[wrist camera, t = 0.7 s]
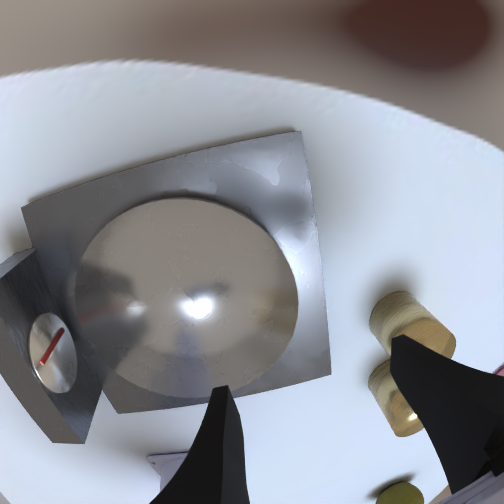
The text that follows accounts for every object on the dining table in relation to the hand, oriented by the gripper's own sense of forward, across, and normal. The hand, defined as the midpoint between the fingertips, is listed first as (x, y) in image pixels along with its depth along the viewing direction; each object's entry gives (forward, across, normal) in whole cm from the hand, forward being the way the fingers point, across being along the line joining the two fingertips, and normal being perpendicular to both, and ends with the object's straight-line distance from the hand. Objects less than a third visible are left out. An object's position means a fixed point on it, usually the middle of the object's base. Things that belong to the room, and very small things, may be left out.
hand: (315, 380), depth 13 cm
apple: (+10, -12, +43) cm, 46 cm away
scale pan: (+8, +6, 0) cm, 10 cm away
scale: (+10, +7, -1) cm, 12 cm away
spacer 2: (+10, -9, +13) cm, 18 cm away
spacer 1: (+10, -9, +6) cm, 14 cm away
